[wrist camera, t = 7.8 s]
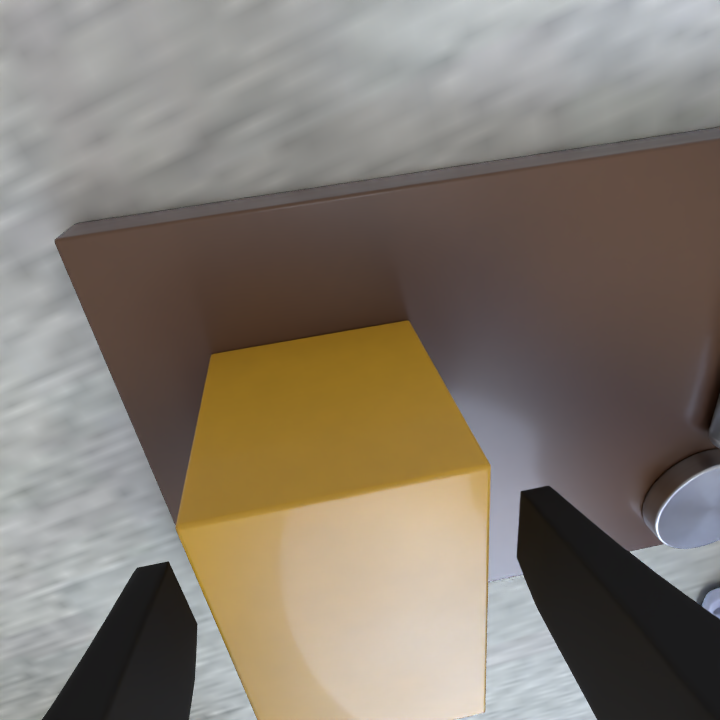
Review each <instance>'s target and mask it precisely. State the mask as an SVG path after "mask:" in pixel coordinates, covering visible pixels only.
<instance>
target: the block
mask: <svg viewBox="0 0 720 720" xmlns="http://www.w3.org/2000/svg"><path fill="white" fill-rule="evenodd" d="M490 476H491V465H490V464H489V462H488V460H487V458H486V456H485V455H484V453H483V451H482V449H481V448H480V446H479V444H478V442H477V440H476V439H475V437H474V435H473V433H472V432H471V430H470V428H469V426H468V424H467V423H466V421H465V419H464V417H463V416H462V414H461V412H460V410H459V409H458V407H457V405H456V403H455V401H454V400H453V398H452V396H451V394H450V393H449V391H448V389H447V387H446V385H445V384H444V382H443V380H442V378H441V377H440V375H439V373H438V371H437V369H436V368H435V366H434V364H433V362H432V361H431V359H430V357H429V355H428V353H427V352H426V350H425V348H424V346H423V345H422V343H421V341H420V339H419V337H418V336H417V334H416V332H415V330H414V329H413V327H412V325H411V323H410V322H409V321H401V322H395V323H389V324H383V325H377V326H372V327H366V328H360V329H354V330H348V331H343V332H337V333H331V334H325V335H319V336H314V337H308V338H302V339H296V340H291V341H285V342H279V343H273V344H267V345H262V346H256V347H250V348H244V349H238V350H233V351H227V352H221V353H215V354H212V355H211V357H210V362H209V367H208V372H207V376H206V381H205V386H204V391H203V396H202V401H201V406H200V410H199V415H198V420H197V425H196V430H195V435H194V440H193V444H192V449H191V454H190V459H189V464H188V469H187V473H186V478H185V483H184V488H183V493H182V498H181V503H180V507H179V512H178V517H177V522H176V527H175V528H176V531H177V533H178V536H179V538H180V540H181V543H182V545H183V547H184V550H185V552H186V554H187V557H188V559H189V561H190V564H191V566H192V568H193V571H194V573H195V575H196V578H197V580H198V582H199V585H200V587H201V589H202V592H203V594H204V596H205V599H206V601H207V603H208V606H209V608H210V610H211V613H212V615H213V617H214V620H215V622H216V624H217V627H218V629H219V631H220V634H221V636H222V638H223V641H224V643H225V645H226V648H227V650H228V652H229V655H230V657H231V659H232V662H233V664H234V666H235V669H236V671H237V673H238V676H239V678H240V680H241V683H242V685H243V687H244V690H245V692H246V694H247V697H248V699H249V701H250V704H251V706H252V708H253V711H254V713H255V715H256V718H257V720H456V719H460V718H465V717H469V716H473V715H477V714H482V713H484V712H485V694H486V651H487V607H488V563H489V520H490Z"/></svg>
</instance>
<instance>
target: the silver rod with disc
mask: <svg viewBox="0 0 720 720" xmlns="http://www.w3.org/2000/svg"><path fill="white" fill-rule="evenodd" d="M709 438H710V441H711V442H712V443H713V444H714V445H715V446H716V447H718V448H720V394H719V398H718V401H717V404H716V408H715V411H714V414H713V418H712V421H711V425H710V428H709ZM642 512H643V518H644V521H645V523H646V525H647V526H648V527H649V528H650V530H651V531H652V532H653V533H654V534H655V536H656V537H657V538H658V539H659V540H660V541H661V542H662V543H664V544H666V545H668V546H670V547H673V548H679V549H689V548H696V547H701V546H705V545H708V544H710V543H713V542H715V541H718V540H720V449H713V450H707V451H703V452H700V453H697V454H694V455H692V456H690V457H687V458H686V459H684V460H682V461H680V462H678V463H677V464H675V465H674V466H672V467H671V468H670V469H668V470H667V471H666V472H665V473H664V474H663V475H661V476H660V477H659V478H658V480H657V481H656V482H655V483H654V484H653V486H652V487H651V488H650V490H649V492H648V493H647V495H646V497H645V500H644V503H643V509H642Z"/></svg>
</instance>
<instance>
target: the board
mask: <svg viewBox="0 0 720 720" xmlns="http://www.w3.org/2000/svg"><path fill="white" fill-rule="evenodd" d="M55 244H56V247H57V249H58V251H59V254H60V256H61V258H62V261H63V263H64V265H65V268H66V270H67V272H68V275H69V277H70V279H71V282H72V284H73V286H74V289H75V291H76V294H77V296H78V298H79V301H80V303H81V305H82V308H83V310H84V312H85V315H86V317H87V319H88V322H89V324H90V326H91V329H92V331H93V333H94V336H95V338H96V340H97V343H98V345H99V347H100V350H101V352H102V354H103V357H104V359H105V361H106V364H107V366H108V368H109V371H110V373H111V375H112V378H113V380H114V383H115V385H116V387H117V390H118V392H119V394H120V397H121V399H122V401H123V404H124V406H125V408H126V411H127V413H128V415H129V418H130V420H131V422H132V425H133V427H134V429H135V432H136V434H137V436H138V439H139V441H140V443H141V446H142V448H143V450H144V453H145V455H146V457H147V460H148V462H149V464H150V467H151V469H152V472H153V474H154V476H155V479H156V481H157V483H158V486H159V488H160V490H161V493H162V495H163V497H164V500H165V502H166V504H167V507H168V509H169V511H170V514H171V516H172V518H173V521H174V523H175V525H176V522H177V517H178V512H179V507H180V503H181V498H182V493H183V488H184V483H185V478H186V473H187V469H188V464H189V459H190V454H191V449H192V444H193V440H194V435H195V430H196V425H197V420H198V415H199V410H200V406H201V401H202V396H203V391H204V386H205V381H206V376H207V372H208V367H209V362H210V357H211V355H212V354H215V353H221V352H227V351H233V350H238V349H244V348H250V347H256V346H262V345H267V344H273V343H279V342H285V341H291V340H296V339H302V338H308V337H314V336H319V335H325V334H331V333H337V332H343V331H348V330H354V329H360V328H366V327H372V326H377V325H383V324H389V323H395V322H401V321H409V322H410V323H411V325H412V327H413V329H414V330H415V332H416V334H417V336H418V337H419V339H420V341H421V343H422V345H423V346H424V348H425V350H426V352H427V353H428V355H429V357H430V359H431V361H432V362H433V364H434V366H435V368H436V369H437V371H438V373H439V375H440V377H441V378H442V380H443V382H444V384H445V385H446V387H447V389H448V391H449V393H450V394H451V396H452V398H453V400H454V401H455V403H456V405H457V407H458V409H459V410H460V412H461V414H462V416H463V417H464V419H465V421H466V423H467V424H468V426H469V428H470V430H471V432H472V433H473V435H474V437H475V439H476V440H477V442H478V444H479V446H480V448H481V449H482V451H483V453H484V455H485V456H486V458H487V460H488V462H489V464H490V465H491V476H490V520H489V563H488V582H490V581H495V580H500V579H504V578H509V577H514V576H518V575H523V572H522V570H521V567H520V565H519V562H518V560H517V541H518V525H519V509H520V493H521V491H524V490H529V489H534V488H539V487H544V486H550V487H552V488H553V489H554V490H555V491H557V492H558V493H559V494H560V495H561V496H562V497H564V498H565V499H566V500H567V501H568V502H570V503H571V504H572V505H573V506H574V507H575V508H577V509H578V510H579V511H580V512H581V513H582V514H584V515H585V516H586V517H587V518H588V519H590V520H591V521H592V522H593V523H594V524H595V525H597V526H598V527H599V528H600V529H602V530H603V531H604V532H605V533H606V534H608V535H609V536H610V537H611V538H612V539H614V540H615V541H616V542H617V543H619V544H620V545H621V546H622V547H624V548H625V549H626V550H627V551H634V550H639V549H643V548H648V547H653V546H657V545H662V544H664V543H662V542H661V541H660V540H659V539H658V538H657V537H656V536H655V534H654V533H653V532H652V531H651V530H650V528H649V527H648V526H647V525H646V523H645V521H644V518H643V512H642V509H643V503H644V500H645V497H646V495H647V493H648V492H649V490H650V488H651V487H652V486H653V484H654V483H655V482H656V481H657V480H658V478H659V477H660V476H661V475H663V474H664V473H665V472H666V471H667V470H668V469H670V468H671V467H672V466H674V465H675V464H677V463H678V462H680V461H682V460H684V459H686V458H687V457H690V456H692V455H694V454H697V453H700V452H703V451H707V450H713V449H720V448H718V447H716V446H715V445H714V444H713V443H712V442H711V441H710V438H709V428H710V425H711V421H712V418H713V414H714V411H715V408H716V404H717V401H718V398H719V394H720V127H717V128H711V129H704V130H697V131H691V132H684V133H677V134H671V135H664V136H657V137H651V138H644V139H637V140H631V141H624V142H617V143H611V144H604V145H597V146H591V147H584V148H577V149H571V150H564V151H557V152H551V153H544V154H537V155H531V156H524V157H517V158H511V159H504V160H497V161H491V162H484V163H477V164H471V165H464V166H457V167H451V168H444V169H437V170H431V171H424V172H417V173H411V174H404V175H397V176H391V177H384V178H377V179H371V180H364V181H357V182H351V183H344V184H337V185H331V186H324V187H317V188H311V189H304V190H297V191H291V192H284V193H277V194H271V195H264V196H257V197H251V198H244V199H237V200H231V201H224V202H217V203H211V204H204V205H197V206H191V207H184V208H177V209H170V210H164V211H157V212H150V213H144V214H137V215H130V216H124V217H117V218H110V219H104V220H97V221H90V222H84V223H77V224H74V225H73V226H72V227H70V228H69V229H68V230H66V231H65V232H64V233H63V234H61V235H60V236H59V237H57V238H56V239H55Z"/></svg>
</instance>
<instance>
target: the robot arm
mask: <svg viewBox="0 0 720 720" xmlns="http://www.w3.org/2000/svg"><path fill="white" fill-rule="evenodd" d="M517 560H518V562H519V565H520V567H521V570H522V572H523V575H524V578H525V580H526V583H527V585H528V587H529V590H530V592H531V595H532V597H533V599H534V602H535V604H536V606H537V608H538V610H539V612H540V614H541V616H542V618H543V620H544V622H545V624H546V625H547V627H548V629H549V631H550V633H551V635H552V637H553V639H554V640H555V642H556V644H557V646H558V648H559V650H560V652H561V653H562V655H563V657H564V659H565V661H566V663H567V664H568V666H569V668H570V670H571V672H572V674H573V676H574V677H575V679H576V681H577V683H578V685H579V687H580V689H581V690H582V692H583V694H584V696H585V698H586V700H587V702H588V703H589V705H590V707H591V709H592V711H593V713H594V714H595V716H596V718H597V720H720V588H716V589H713V590H712V591H710V592H709V593H708V594H707V595H706V596H705V598H704V601H703V604H702V606H700V605H699V604H698V603H696V602H695V601H694V600H692V599H691V598H689V597H688V596H687V595H685V594H684V593H682V592H681V591H680V590H678V589H677V588H675V587H674V586H673V585H671V584H670V583H669V582H667V581H666V580H665V579H663V578H662V577H661V576H659V575H658V574H657V573H655V572H654V571H653V570H652V569H650V568H649V567H648V566H646V565H645V564H644V563H643V562H641V561H640V560H639V559H638V558H636V557H635V556H634V555H632V554H631V553H630V552H629V551H627V550H626V549H625V548H624V547H622V546H621V545H620V544H619V543H617V542H616V541H615V540H614V539H612V538H611V537H610V536H609V535H608V534H606V533H605V532H604V531H603V530H602V529H600V528H599V527H598V526H597V525H595V524H594V523H593V522H592V521H591V520H590V519H588V518H587V517H586V516H585V515H584V514H582V513H581V512H580V511H579V510H578V509H577V508H575V507H574V506H573V505H572V504H571V503H570V502H568V501H567V500H566V499H565V498H564V497H562V496H561V495H560V494H559V493H558V492H557V491H555V490H554V489H553V488H552V487H550V486H544V487H539V488H534V489H529V490H524V491H521V493H520V509H519V525H518V541H517ZM196 646H197V622H196V620H195V618H194V616H193V614H192V611H191V609H190V607H189V605H188V603H187V600H186V598H185V596H184V594H183V592H182V590H181V587H180V585H179V583H178V581H177V579H176V576H175V574H174V572H173V570H172V568H171V566H170V563H169V562H164V563H159V564H154V565H149V566H144V567H139V568H137V569H136V570H135V571H134V573H133V574H132V576H131V578H130V579H129V581H128V583H127V584H126V586H125V588H124V589H123V591H122V593H121V595H120V596H119V598H118V600H117V601H116V603H115V605H114V606H113V608H112V610H111V611H110V613H109V615H108V616H107V618H106V620H105V622H104V623H103V625H102V626H101V628H100V630H99V631H98V633H97V635H96V636H95V638H94V640H93V641H92V643H91V645H90V646H89V648H88V649H87V651H86V653H85V654H84V656H83V657H82V659H81V660H80V662H79V664H78V665H77V667H76V668H75V670H74V672H73V673H72V675H71V676H70V678H69V679H68V681H67V683H66V684H65V686H64V687H63V689H62V690H61V692H60V694H59V695H58V697H57V698H56V700H55V701H54V703H53V704H52V706H51V707H50V709H49V710H48V711H47V713H46V714H45V716H44V717H43V719H42V720H189V715H190V708H191V702H192V695H193V688H194V681H195V666H196Z"/></svg>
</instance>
